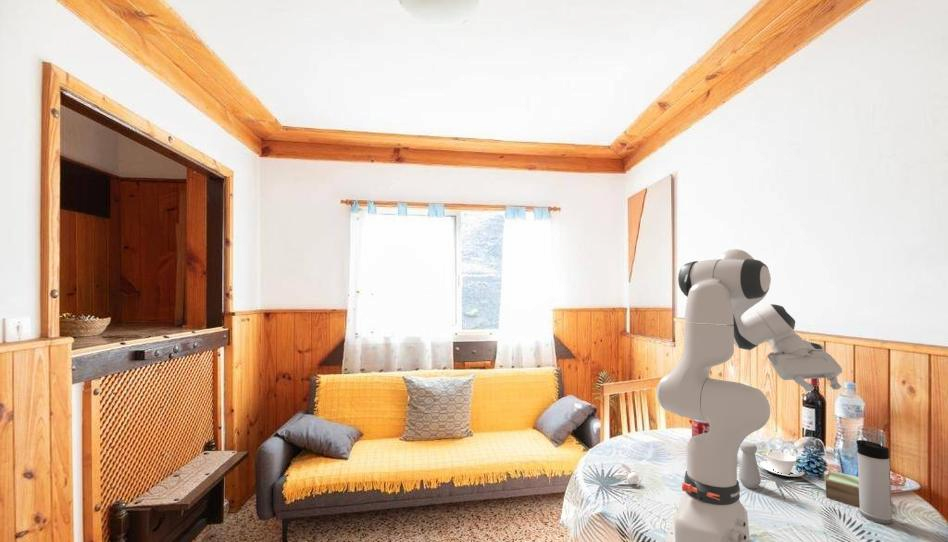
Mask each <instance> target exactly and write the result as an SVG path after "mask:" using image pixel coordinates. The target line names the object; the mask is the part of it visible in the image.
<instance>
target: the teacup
mask: <svg viewBox="0 0 948 542" xmlns="http://www.w3.org/2000/svg"><path fill="white" fill-rule="evenodd" d="M761 456H762V458H763V460H762V461H760V463H759V465H760V467H761V468H763V469H764V470H766V471H768V472H770V473H773V474H776V475H781V476H786V477H803V476H804V475H805V471H804V470H803V471H804V472H803V471H802V472H800V473H798V474H790V475H787V474H788V473H790V472H791V470H792V468H793V466H795V464H796V462H797V460H798V459H797V458H796V457H795V456H794V455H791V454H789V453H785V452H781V451H767V452H766V453H765V452H763V451H762V452H761ZM765 456H766V457H767V458H768V460H766V458H765ZM773 469H774V471H773ZM775 471H776V472H775ZM777 472H779V473H777ZM781 473H782V474H781Z"/></svg>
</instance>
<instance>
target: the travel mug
mask: <svg viewBox="0 0 948 542" xmlns="http://www.w3.org/2000/svg"><path fill="white" fill-rule="evenodd" d="M856 447H857V451H856V453H857V455H856V456H857V475H858V476H857V477H858V480H859V502H860V507H859V514H860V515H861V516H862V518H865V519H867V520H868V521H872V522H874V523H878V524H881V525H882V524H883V525H890V524H892V523H893V505H892V504H893V503H892V486H891V485H892V484H891V465H890V464H891V463H890V462H891V461H890V455H889V454H890V452H889V451H890V449H889V447H886V446H883V445H882V444H880V443H878V442H877V443H876V442H873V441H868V440H865V439H864V440H863V439H862V440H861V439H857V440H856Z"/></svg>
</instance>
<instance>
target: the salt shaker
mask: <svg viewBox="0 0 948 542" xmlns="http://www.w3.org/2000/svg"><path fill="white" fill-rule="evenodd" d="M739 449H740V451H742V452H741V453H742V454H741V461H740V465H739V466H740V467H739V473H738V479H739V480H740V482H741V484H742V486H743V487H745V488H747V489H754V490H757V488H758V487H760V484H761V482H762V479H761V475H760V470H759V466H758V462H757V461H758V460H757V457H756V453H757V452H758V451H757V450H758V448H757V446H756V445H755V444H754V443H752V442H749V441H748V442H747V441H743V442H742V443H741V445H740V447H739Z"/></svg>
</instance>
